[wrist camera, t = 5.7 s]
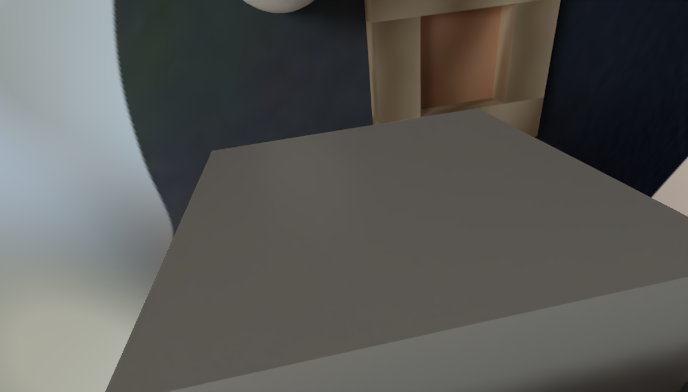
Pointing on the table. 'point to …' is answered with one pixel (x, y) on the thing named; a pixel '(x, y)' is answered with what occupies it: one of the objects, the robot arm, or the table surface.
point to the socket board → (460, 58)
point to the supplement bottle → (279, 5)
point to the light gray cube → (414, 270)
